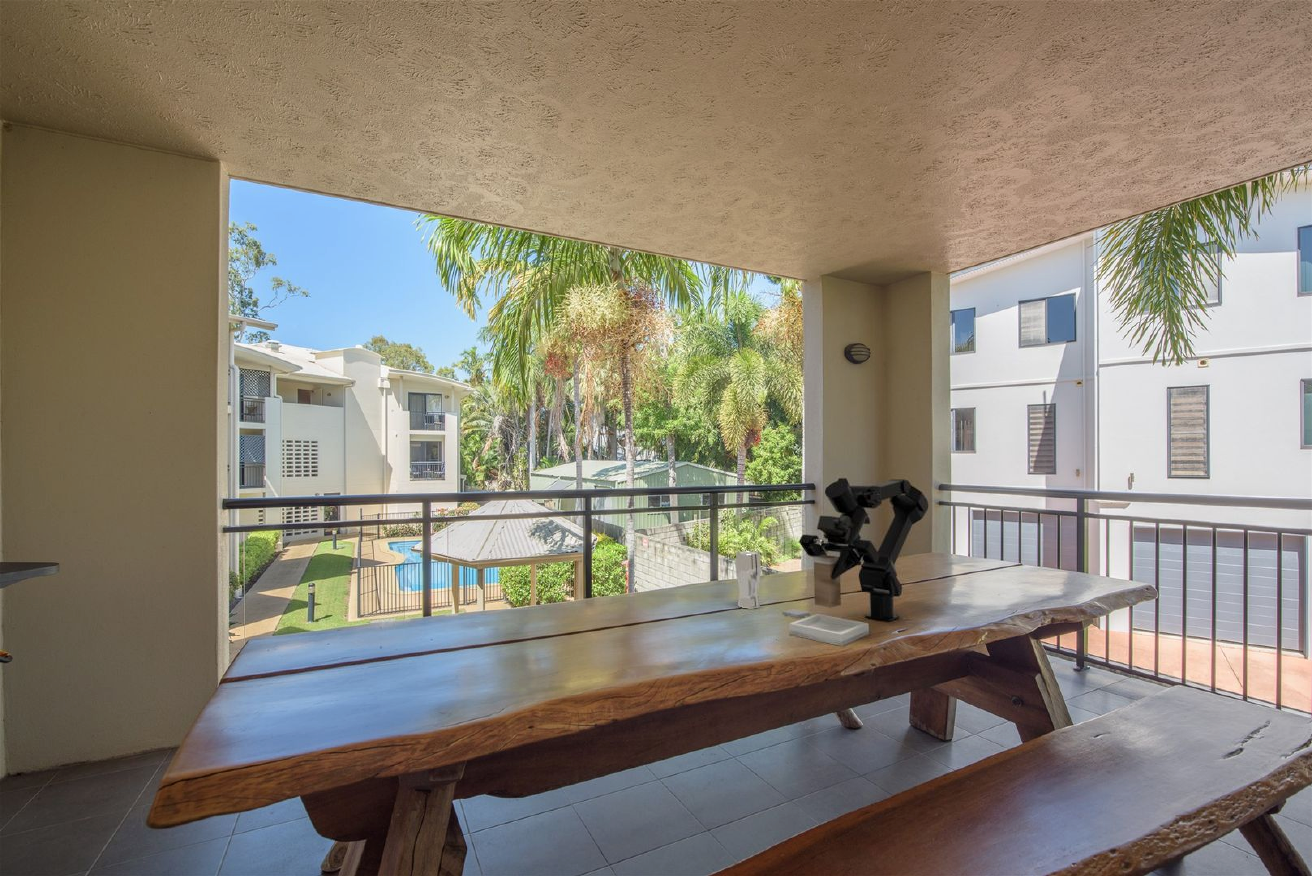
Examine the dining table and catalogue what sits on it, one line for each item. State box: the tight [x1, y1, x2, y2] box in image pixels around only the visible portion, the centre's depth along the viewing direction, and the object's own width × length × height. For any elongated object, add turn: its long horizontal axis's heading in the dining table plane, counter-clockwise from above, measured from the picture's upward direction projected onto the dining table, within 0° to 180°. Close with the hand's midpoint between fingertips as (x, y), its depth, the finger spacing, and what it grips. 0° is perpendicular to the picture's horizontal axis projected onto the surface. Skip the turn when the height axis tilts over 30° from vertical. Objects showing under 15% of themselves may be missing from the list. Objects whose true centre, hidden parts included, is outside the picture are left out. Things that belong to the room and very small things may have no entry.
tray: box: [788, 613, 870, 647], centre depth 133 cm, size 13×13×2 cm
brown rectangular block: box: [812, 554, 842, 609], centre depth 134 cm, size 4×4×11 cm
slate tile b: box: [782, 608, 811, 619], centre depth 151 cm, size 5×5×1 cm
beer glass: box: [735, 550, 762, 610], centre depth 161 cm, size 7×7×15 cm
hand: (823, 576), depth 133 cm, fingers closed on brown rectangular block, 4 cm apart
